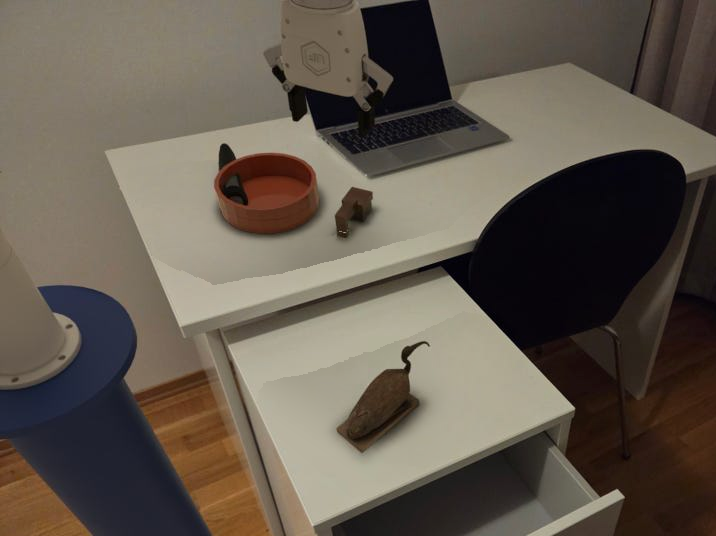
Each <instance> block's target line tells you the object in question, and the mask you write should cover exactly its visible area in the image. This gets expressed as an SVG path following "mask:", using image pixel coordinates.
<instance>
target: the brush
mask: <svg viewBox="0 0 716 536" xmlns="http://www.w3.org/2000/svg"><path fill="white" fill-rule="evenodd" d="M372 200H374V192H373V191H372V190H368V189H363V188H359V187H356V186H351V187H350V188H349V189H348V191H347V193H346V194H345V195H344V196H343V197H342V199H341V206H340V207H339V209H338V210H337V211H336V213H335V214H334V222H335V229H336V236H337V237H340V238H341V237H342V238H345V239H347V238H348V236H349V235H350V230H349V221H350V220H353V221H354V220H355V221H359V222H362V223H363V222H365V220H366V219H367V218H368V216H369V214H370V213H371V212H372V210H373V204H372ZM347 230H348V231H347ZM339 231H342V232H339ZM343 232H346V233H343Z"/></svg>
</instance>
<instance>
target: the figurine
mask: <svg viewBox="0 0 716 536" xmlns="http://www.w3.org/2000/svg"><path fill="white" fill-rule="evenodd" d="M422 345H427V347H429V348H430V346H431V345H430V343H429V342H427V341H426V340H421V341H419V342H416V343H413V344H411V345H406V346H404V347H403V348H402V350H401V354H400V360H401V361H402V363H403V364H405V366H404V367H403V368H386V369H384V370H383V371H381V372H380V373H379V374H378V375H377V376H376V377H375V378H374V379H373V380H372V381H371V382H370V383H369V385H368V386H366V389H365V390H364V391H363V393H362V394H361V396H360V398H359V399H358V400H357V402H356V404H355V405H354V406H353V408H352V409H351V411H350V414H348V417H347V418H346V420H345V421H343V422H342V423H341V424H339V425H338V426H337V427H336V433H337V434H339V435H340V436H341V437H342V438H343V439H345V440H346V441H347V443H349V444H350V445H352V446H353V447H354V448H355V449H356V450H357V451H359V452H360V453H361V454H363V453H365V451H367V450H368V449H369V448H370V447H371V446H373V444H375V443H376V442H377V441H378V440H379V439H381V437H383V436H384V435H385V434H386V433H387V432H389V431H390V429H391V428H393V427H394V426H395V425H396V424H398V423H399V422H400V421H401V420H402V419H403V418H404V417H406V415H408V414H409V413H410V412H411V411H412V410H414V409H415V408H416V407H417V406H419V404H420V399H419V398H417V397H416V396H414V395H413V394H411V393H410V391H411V383H410V376H409V374H410V373H411V369H412V362H411V361H410V360H409V357H410V356H412V354H413V352H414V351H415V350H417V348H419V347H421V346H422Z"/></svg>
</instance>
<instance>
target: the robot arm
mask: <svg viewBox="0 0 716 536" xmlns="http://www.w3.org/2000/svg"><path fill="white" fill-rule="evenodd" d="M363 18H364V17H363V15H362V11H361V6H360V4H359V2H358V1H357V0H281V6H280V42H279V43H276V44H274V45H271V46H268V47H267V48H266V49H265V50H264V51H263V52H262V55H263V57H264V59H265V61H266V62H267V64H268V66H269V68H271V73H272V75H273V76H274V77H275V78H276V79H277V81H279V83H280V84H281V88H282V90H283V91H284V92H286V94H287V101H288V108H289V109H288V110H289V111H290V113H291V119H292V122H294V123H295V122H296V123H298V122H300V120H302V119H303V118H304V117H305V116H306V115H307V114H308V111H309V110H308V101H307V97H306V96H307V94H306V88H307V89H311V90H315V91H318V92H319V91H320V92H323V93H328V94H332V95H335V96H336V95H337V96H341V97H347V98H349V97H352V98H353V99H354V100H355V101H356V103H357V104H358V105H359V108H358V109H357V113H356V114H357V131H358V137H359V138H361V139H365V138H367V136H369V133H370V132H371V131H373V130H374V128H375V125H376V118H375V116H376V115H375V114H376V113H375V106H376V104H378V103H379V102H381V100H382V99H383V98H384V97H385V96H386V95H387V93H388V91H389V89H390V88H391V86H392V83H393V82H394V77H393V75H391V74H390V73H389V72H387V70H385V69H383V68H382V67H381V66H380V65H379V64H377V63H376V62H374V61H373V60H372V59H371V58H369V49H368V43H367V35H366V29H365V23H364V19H363ZM370 78H371V79H373V80H374V81H375V82H376V83H377V86H376V88H375V90H374V89H373V88H372V87H371V85H370V84H369V79H370ZM37 287H38V286H37V285H36V283H35V281H34V280H33V279H32V277H31V275H30V273H29V272H28V271H27V269H26V267H25V266H24V264H23V262H22V261H21V259H20V257H19V256H18V255H17V253H16V251H15V249H14V248H13V247H12V245H11V243H10V242H9V241H8V239H7V237H6V236H5V234H4V233H3V231H2V230H1V228H0V389H1V390H14V389H21V388H26V387H30V386H33V385H37V384H39V383H42V382H44V381H47V380H48V379H50V378H52V377H54V376H56V375H57V374H59V373H60V372H61V371H63V370H64V369H65V368H66V367H67V366H68V365H70V364H71V363H72V361H73V360H74V359H75V357H76V356H77V354H78V352H79V350H80V348H81V343H82V337H81V333H80V331H79V329H78V327H77V326H76V324H75V323H74V322H73V321H72V320H71V319H70V318H68V317H66V316H64V315H61V314H57V313H53V312H52V311H51V309H50V308H49V306H48V304H47V303H46V301H45V299H44V298H43V296H42V295H41V293H40V291H39V290H38V288H37Z"/></svg>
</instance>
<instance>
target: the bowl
mask: <svg viewBox="0 0 716 536" xmlns="http://www.w3.org/2000/svg"><path fill="white" fill-rule="evenodd" d="M237 173H238V174H239V175H240V177H241V181H242V185H243V188H244V191H245V193H246V195H247V198H248V204H247V206H245V205H241V204H237V203H235V202H233V201H231V200H229V199H227V198H226V197H225V196H224V195H223V187H224V185H225V183H226V182H227V181H228V179H229V178H230V177H231V176H234V175H235V174H237ZM213 189H214V192H215V195H216V199H217V202H218V206H219V209H220V211H221V215H222V216H223V219H225V221H226V222H227V223H229V224H230V225H231V226H233V227H234V228H236V229H239V230H241V231H245V232H249V233H253V234H254V233H255V234H277V233H282V232H287V231H290V230H293V229H296V228H299V227H300V226H302V225H304V224H306V223H307V222H308V221H310V220H311V219H312V218H313V217H314V216H315V214H316V213H317V211H318V210H319V206H320V195H319V188H318V181H317V174H316V171H315V170H314V168H313V166H312V165H311V164H309V163H308V162H307V161H306V160H304V159H302V158H300V157H298V156H295V155H291V154H288V153H283V152H282V153H281V152H259V153H253V154H248V155H244V156H241V157H239V158H236V160H234V161H232V162H231V163H229V164H227V165H226V166H224V167H223V168H222V169H221V170H220V171H219V170H218V172H217V173H216V176H215V177H214V180H213Z"/></svg>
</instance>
